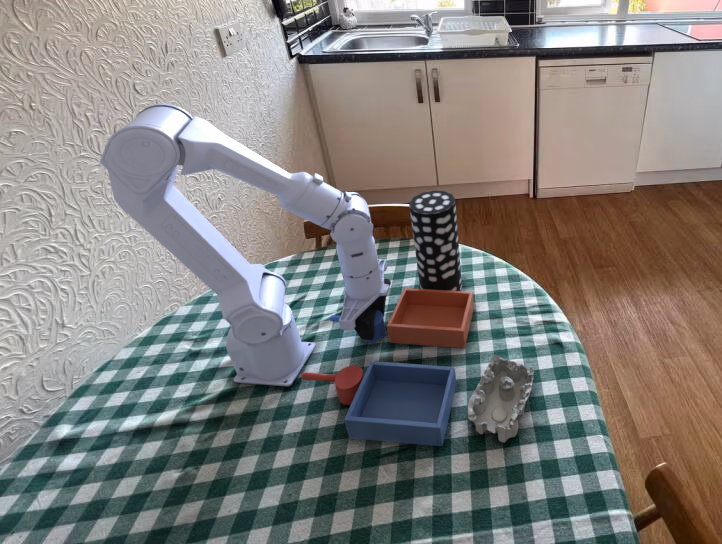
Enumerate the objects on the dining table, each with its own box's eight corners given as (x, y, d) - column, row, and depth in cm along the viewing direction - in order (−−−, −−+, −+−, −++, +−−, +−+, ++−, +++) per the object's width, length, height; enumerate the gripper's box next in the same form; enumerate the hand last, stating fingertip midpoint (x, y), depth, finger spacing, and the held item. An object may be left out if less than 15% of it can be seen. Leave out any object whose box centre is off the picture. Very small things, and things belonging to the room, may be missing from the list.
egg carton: (512, 450, 56) (511, 431, 54) (463, 428, 58) (461, 409, 56) (538, 382, 64) (538, 364, 63) (494, 366, 67) (494, 348, 65)
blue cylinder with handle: (327, 339, 72) (323, 324, 70) (338, 321, 76) (334, 307, 74) (380, 343, 71) (377, 328, 70) (389, 325, 75) (386, 310, 73)
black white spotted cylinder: (428, 271, 88) (418, 189, 79) (466, 274, 87) (460, 191, 78) (414, 299, 81) (402, 212, 72) (456, 303, 79) (448, 215, 71)
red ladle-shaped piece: (299, 401, 62) (293, 385, 61) (312, 377, 66) (307, 361, 64) (360, 406, 61) (355, 390, 60) (370, 381, 65) (367, 365, 63)
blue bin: (348, 438, 57) (343, 420, 55) (374, 378, 65) (370, 360, 64) (442, 446, 56) (440, 428, 54) (456, 384, 64) (454, 366, 63)
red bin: (389, 343, 72) (386, 326, 70) (406, 303, 80) (404, 287, 78) (464, 348, 70) (463, 331, 69) (474, 307, 79) (473, 291, 77)
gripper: (365, 300, 60) (379, 365, 66) (399, 240, 73) (407, 298, 79) (319, 297, 60) (336, 362, 66) (360, 238, 74) (372, 296, 79)
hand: (372, 327), depth 73 cm, fingers closed on blue cylinder with handle, 4 cm apart
